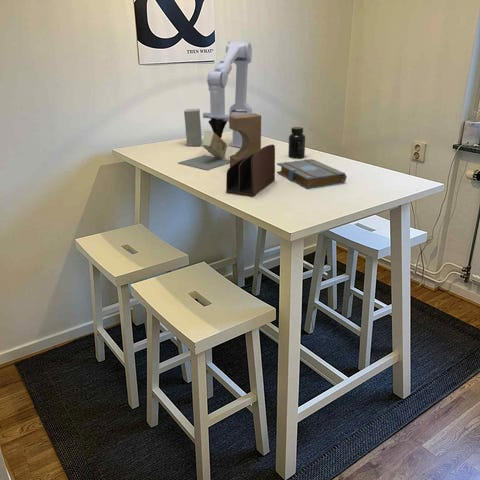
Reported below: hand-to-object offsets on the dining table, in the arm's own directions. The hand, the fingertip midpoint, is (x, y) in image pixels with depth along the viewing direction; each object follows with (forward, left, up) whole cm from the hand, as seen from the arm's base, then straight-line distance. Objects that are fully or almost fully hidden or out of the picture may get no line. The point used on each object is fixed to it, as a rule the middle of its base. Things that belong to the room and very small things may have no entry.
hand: (218, 137), depth 196 cm
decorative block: (+4, +17, -9) cm, 19 cm away
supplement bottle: (-23, +23, -9) cm, 34 cm away
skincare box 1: (-12, -26, -9) cm, 30 cm away
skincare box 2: (-2, 0, -6) cm, 6 cm away
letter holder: (+20, +33, -9) cm, 40 cm away
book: (-1, +43, -9) cm, 44 cm away
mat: (+8, 0, -9) cm, 11 cm away
